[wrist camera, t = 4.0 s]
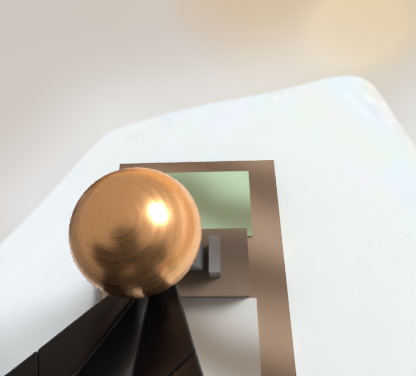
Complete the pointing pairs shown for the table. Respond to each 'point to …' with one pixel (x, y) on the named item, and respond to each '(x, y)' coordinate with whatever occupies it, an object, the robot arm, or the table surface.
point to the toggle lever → (136, 233)
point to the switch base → (258, 258)
